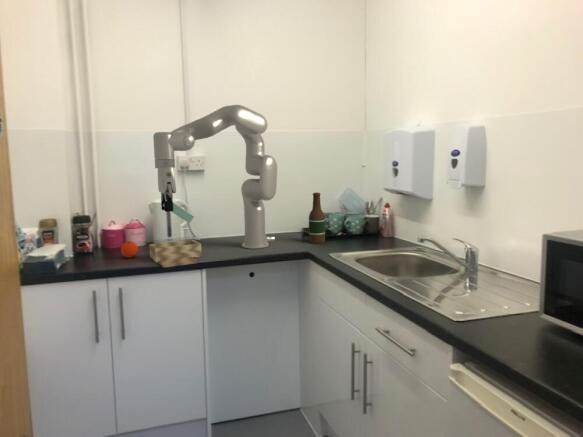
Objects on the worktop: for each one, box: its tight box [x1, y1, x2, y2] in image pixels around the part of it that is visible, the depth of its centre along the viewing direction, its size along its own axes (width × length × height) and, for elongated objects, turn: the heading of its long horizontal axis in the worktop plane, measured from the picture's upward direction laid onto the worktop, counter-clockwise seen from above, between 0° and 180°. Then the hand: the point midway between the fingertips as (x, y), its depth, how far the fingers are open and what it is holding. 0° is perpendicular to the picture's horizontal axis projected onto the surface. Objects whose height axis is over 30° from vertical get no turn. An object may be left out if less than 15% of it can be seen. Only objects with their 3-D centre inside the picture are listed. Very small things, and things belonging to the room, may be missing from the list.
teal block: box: [162, 202, 195, 223], centre depth 186 cm, size 12×4×3 cm
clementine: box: [120, 241, 139, 259], centre depth 200 cm, size 8×7×7 cm
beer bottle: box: [308, 192, 326, 245], centre depth 224 cm, size 8×8×24 cm
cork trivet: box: [157, 257, 199, 268], centre depth 189 cm, size 14×9×1 cm, turn 119°
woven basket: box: [148, 239, 203, 263], centre depth 200 cm, size 19×12×6 cm, turn 119°
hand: (167, 210), depth 184 cm, fingers closed on teal block, 4 cm apart
